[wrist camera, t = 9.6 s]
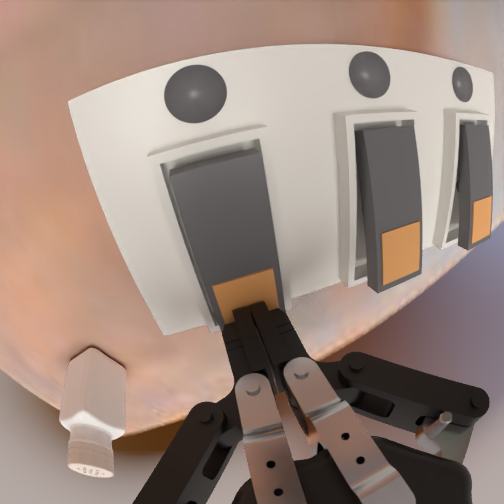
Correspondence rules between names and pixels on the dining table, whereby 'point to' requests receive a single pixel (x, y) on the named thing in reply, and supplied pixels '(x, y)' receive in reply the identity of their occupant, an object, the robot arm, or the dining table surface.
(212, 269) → the rocker
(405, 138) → the rocker middle
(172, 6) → the dining table surface
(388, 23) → the dining table surface
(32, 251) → the dining table surface
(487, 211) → the rocker
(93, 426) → the pepper shaker
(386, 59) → the rocker switch panel
